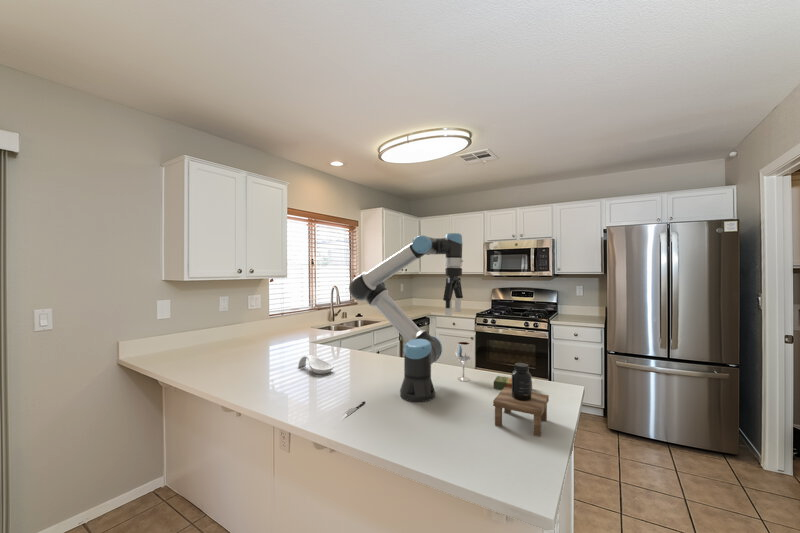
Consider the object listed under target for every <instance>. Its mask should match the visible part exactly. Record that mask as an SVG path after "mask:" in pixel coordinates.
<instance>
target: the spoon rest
mask: <svg viewBox="0 0 800 533" xmlns="http://www.w3.org/2000/svg"><path fill="white" fill-rule="evenodd" d="M307 360H308V364H309V367H310V369H311V371H312V372H313V373H314V374H316V375H326V374H328V373H330V372H331V371H332V370H333V369H334V365H333V364H332V363H331V362H328V361H326V360H323V359H321V358H319V357H316V356H315V355H311V354H310V355H304V356H302V357H301V358H300V359H299V362H298V365H297V367H298V368H302V367H306V365H307Z"/></svg>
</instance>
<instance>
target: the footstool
mask: <svg viewBox="0 0 800 533" xmlns="http://www.w3.org/2000/svg"><path fill="white" fill-rule="evenodd" d="M549 401H550V400H549V394H546V393H545V394H544V393H539V392H533V391H531V399H530V400H528V401H520V400H516V399H514V398H513V397H512V388H507V387H504V389H503V390H501V391H500V392H499V393H498V394H497V395H496V396H495V398H494V399H493V401H492V402H493V405H492V406H493V407H494V426H495V427H499V428H501V427H502V425H503V413H505V414H511V412H512V411H516V412H519V413H522V414H523V413H524V414H528V415H529V414H530V415H533V436H536V437H541V435H542V422H547V418H548V415H547V414H548V404H549V403H548V402H549ZM503 410H504V411H503Z"/></svg>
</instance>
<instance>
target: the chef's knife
mask: <svg viewBox="0 0 800 533" xmlns="http://www.w3.org/2000/svg"><path fill="white" fill-rule="evenodd" d="M363 404H364V405H365V404H366V401H362V402H361V403H359V405H357V406H356V407H350V408H351V409H350V408H349V409H347V411H346V412H347V413H346V412H345V413H346V414H347V416H348V415H349V416H351V413H352V414H353V413H355V412H356V411H357V410H358V409H359V407H360V408H361V407H362V406H364V405H363ZM349 416H348V417H349Z"/></svg>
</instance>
